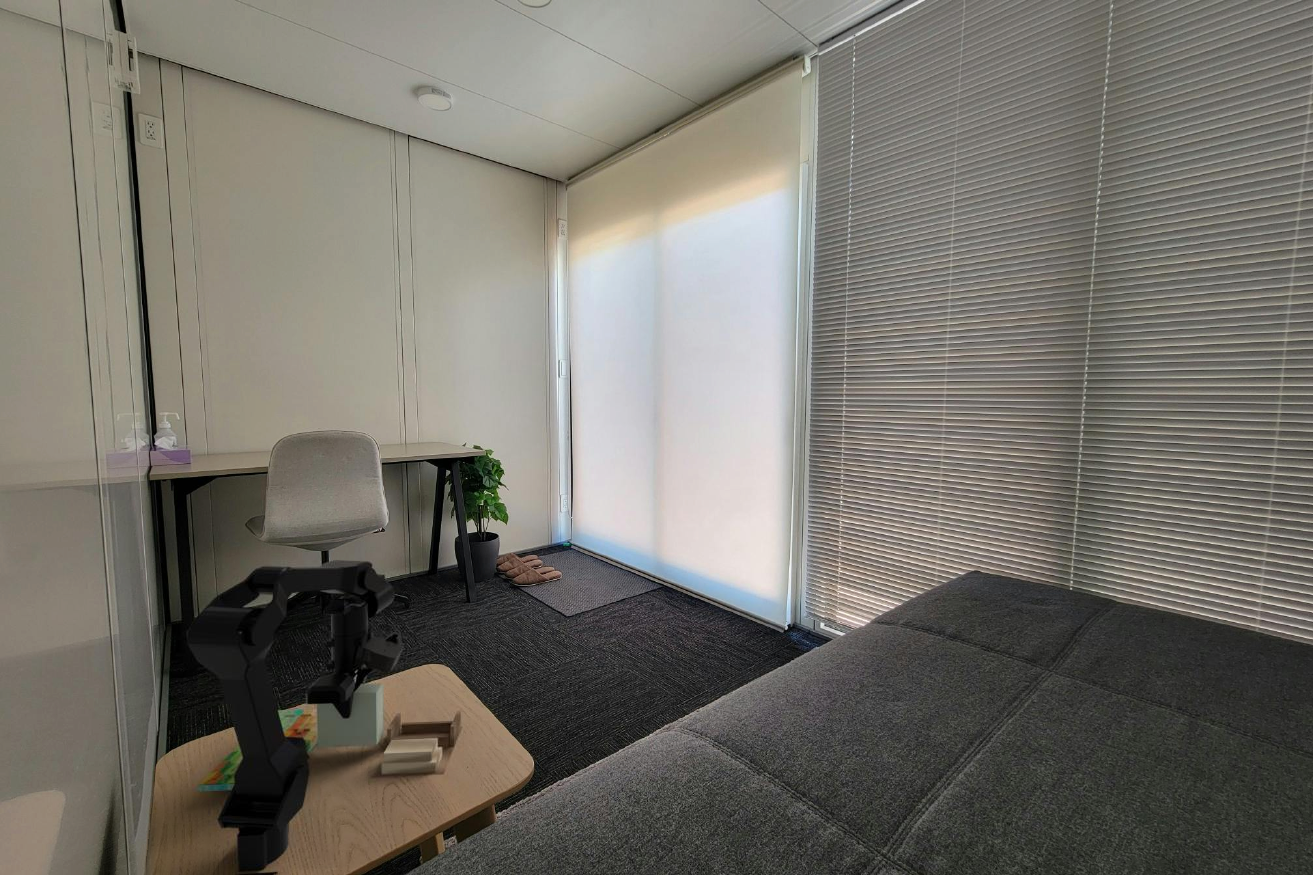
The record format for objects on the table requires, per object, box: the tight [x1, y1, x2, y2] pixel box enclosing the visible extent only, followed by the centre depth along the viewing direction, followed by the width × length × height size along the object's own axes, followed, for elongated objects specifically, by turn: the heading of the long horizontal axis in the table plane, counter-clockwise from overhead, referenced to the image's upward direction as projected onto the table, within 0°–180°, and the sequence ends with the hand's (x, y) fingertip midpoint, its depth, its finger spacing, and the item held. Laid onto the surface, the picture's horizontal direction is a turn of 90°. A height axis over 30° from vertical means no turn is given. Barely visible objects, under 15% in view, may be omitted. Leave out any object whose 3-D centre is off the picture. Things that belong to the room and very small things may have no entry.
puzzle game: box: [197, 708, 318, 792], centre depth 95 cm, size 12×5×20 cm
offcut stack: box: [382, 738, 442, 775], centre depth 94 cm, size 4×9×4 cm, turn 97°
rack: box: [371, 710, 463, 778], centre depth 98 cm, size 13×12×5 cm
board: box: [316, 682, 384, 749], centre depth 95 cm, size 3×10×10 cm, turn 97°
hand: (350, 712), depth 95 cm, fingers closed on board, 3 cm apart
